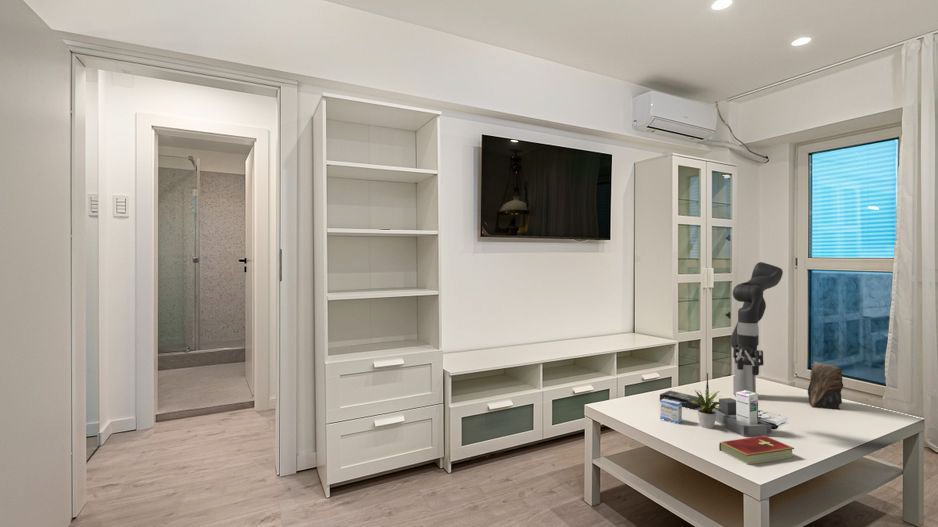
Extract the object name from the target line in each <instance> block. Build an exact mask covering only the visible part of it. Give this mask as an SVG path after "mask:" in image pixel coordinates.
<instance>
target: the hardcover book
mask: <svg viewBox="0 0 938 527" xmlns="http://www.w3.org/2000/svg"><path fill="white" fill-rule="evenodd" d="M718 444H719V445H718V450H719V452H720V451H722V452H721V453H724V454H725V455H728V456H730V457H732V458H733V459H736V460H737V461H740V462H742V463H743V464H745V465H753V464H760V463H764V462H765V463H766V462H772V461H778V460H784V459H785V460H786V459H789V458H793V450H794V449H795V447H793V446H790V445H789V444H786V443H783V442H781V441H779V440H776V439H773V438H771V437H769V436H768V435H761V436H751V437H745V438H739V439H731V440H725V441H719V443H718Z"/></svg>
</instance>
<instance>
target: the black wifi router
mask: <svg viewBox="0 0 938 527" xmlns="http://www.w3.org/2000/svg"><path fill="white" fill-rule="evenodd" d="M705 386H706V388H705V391H707V389H708V391H707V393H708V397H709V398H710V396H709V395H710V392H709V391H710V390H709V373H708V372H706V385H705ZM695 396H696V395H692V394H691V395H690V394H687V393H682V392H680V391H679V392H678V391H674V390H668V391H665V392H663V393H660V394H659V402H660V401H661V400H662V399H668V400H673V401H678V402H682V408H684V407H685V408H684V409H688V408H689V409H688V410H692V409H693V410H694V409H697V408H700V405H701V403H702V402H701V403H700V401H699V399H700V398H699V396H697V397H698V398H699V399H698V398H697V397H695ZM709 398H708V399H709ZM692 401H696V402H697V403H699V404H700V405H697V403H696V404H694V403H692Z"/></svg>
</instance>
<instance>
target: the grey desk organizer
mask: <svg viewBox="0 0 938 527" xmlns="http://www.w3.org/2000/svg"><path fill="white" fill-rule="evenodd" d="M718 402H719V403H721V404H718V406H719V407H721V408H722V410H721V409H720V408H718V407H717V408H718V410H717V409H713V411H715V412H716V418H715V422H717V423H719V424H720V423H721V424H720V425H721V426H725V427H726V428H728V429H730V430H731V431H733V432H735V433H737V434H739V435H740V436H743V437H759V436H772V424H770V423H768V422H766V421H764V420H763V419H761V418H758V424H752V425H745V424H743V423H741V422H739V421H737V419H736V399H734V398H732V397H729V398H728V397H726V398H722V397H721V398H718Z"/></svg>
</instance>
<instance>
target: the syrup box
mask: <svg viewBox="0 0 938 527" xmlns="http://www.w3.org/2000/svg"><path fill="white" fill-rule="evenodd" d="M735 400H736V419H737V421H739V422H741V423H743V424H745V425H752V424H758V419H759V418H758V415H759V414H758V410H759V394H758V393H757V392H756V393H754V392H751V391H746V390H744V391H740V392H736V396H735Z"/></svg>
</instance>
